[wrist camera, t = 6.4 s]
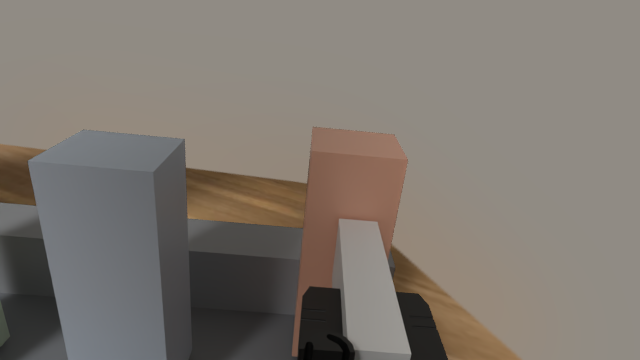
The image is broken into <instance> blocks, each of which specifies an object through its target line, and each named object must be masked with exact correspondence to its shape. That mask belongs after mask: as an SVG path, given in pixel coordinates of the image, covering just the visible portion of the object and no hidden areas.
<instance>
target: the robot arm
mask: <svg viewBox="0 0 640 360" xmlns="http://www.w3.org/2000/svg"><path fill="white" fill-rule="evenodd" d="M297 360H448V358H447V356H446V353H445V350H444V347H443V344H442V342H441V339H440V336H439V333H438V330H436V325H435V322H434V320H433V316H432V314H431V311H430V308H429V305H428V304H427V303H426V302H425V301H424V300H423V298H422V297H421V296H420V295H419V294H415V293H402V292H395V288H394V284H393V280H392V277H391V273H390V269H389V265H388V261H387V257H386V253H385V249H384V245H383V242H382V238H381V234H380V230H379V226H378V222H375V221H363V220H352V219H340V218H339V223H338V231H337V239H336V247H335V256H334V264H333V272H332V288H326V287H313V286H309V288H308V289H307V291H306V292H305V293H304V295H303V296H302V307H301V318H300V329H299V342H298V355H297Z"/></svg>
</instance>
